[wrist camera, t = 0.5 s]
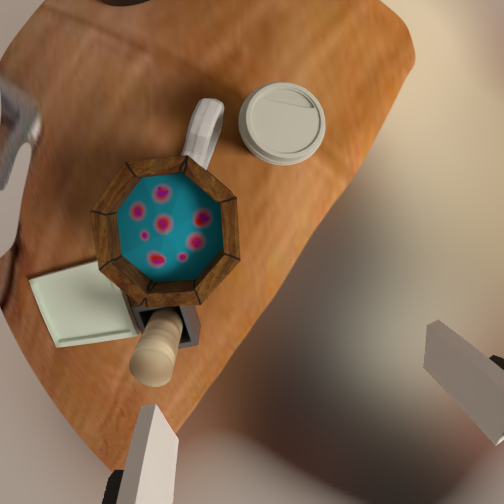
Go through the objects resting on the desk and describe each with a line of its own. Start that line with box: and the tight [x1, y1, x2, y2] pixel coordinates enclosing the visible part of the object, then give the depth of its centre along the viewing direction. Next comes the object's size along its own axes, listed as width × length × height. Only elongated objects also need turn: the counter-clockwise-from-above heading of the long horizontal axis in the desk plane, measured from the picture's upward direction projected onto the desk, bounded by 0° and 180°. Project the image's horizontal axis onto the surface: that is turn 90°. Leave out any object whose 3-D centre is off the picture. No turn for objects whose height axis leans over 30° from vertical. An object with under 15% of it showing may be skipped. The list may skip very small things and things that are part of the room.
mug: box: [91, 98, 240, 308], centre depth 30 cm, size 20×14×15 cm
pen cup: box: [132, 302, 201, 349], centre depth 38 cm, size 7×7×6 cm
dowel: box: [129, 306, 184, 387], centre depth 33 cm, size 4×4×14 cm
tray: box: [29, 260, 140, 347], centre depth 39 cm, size 12×16×1 cm
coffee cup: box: [238, 82, 325, 165], centre depth 31 cm, size 8×8×12 cm
